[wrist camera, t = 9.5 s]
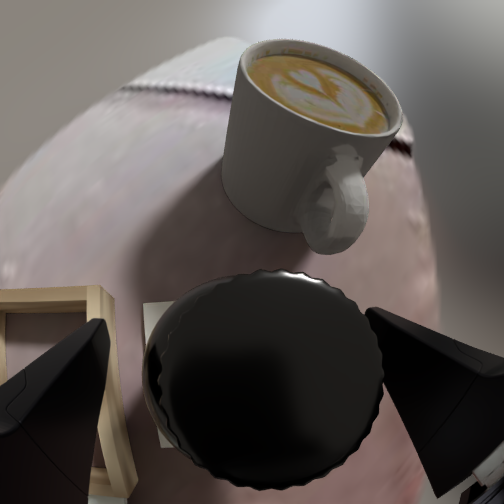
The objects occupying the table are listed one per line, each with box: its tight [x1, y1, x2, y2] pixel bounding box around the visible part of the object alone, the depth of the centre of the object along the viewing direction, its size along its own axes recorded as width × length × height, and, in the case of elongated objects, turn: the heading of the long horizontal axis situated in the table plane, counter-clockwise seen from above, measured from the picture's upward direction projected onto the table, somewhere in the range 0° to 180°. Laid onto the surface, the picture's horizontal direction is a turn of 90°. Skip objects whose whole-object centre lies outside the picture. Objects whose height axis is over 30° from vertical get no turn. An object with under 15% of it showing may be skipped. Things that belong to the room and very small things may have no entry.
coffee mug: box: [221, 39, 403, 255], centre depth 18 cm, size 13×10×10 cm
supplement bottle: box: [142, 269, 385, 491], centre depth 10 cm, size 7×7×12 cm
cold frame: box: [0, 285, 139, 498], centre depth 12 cm, size 12×10×3 cm
